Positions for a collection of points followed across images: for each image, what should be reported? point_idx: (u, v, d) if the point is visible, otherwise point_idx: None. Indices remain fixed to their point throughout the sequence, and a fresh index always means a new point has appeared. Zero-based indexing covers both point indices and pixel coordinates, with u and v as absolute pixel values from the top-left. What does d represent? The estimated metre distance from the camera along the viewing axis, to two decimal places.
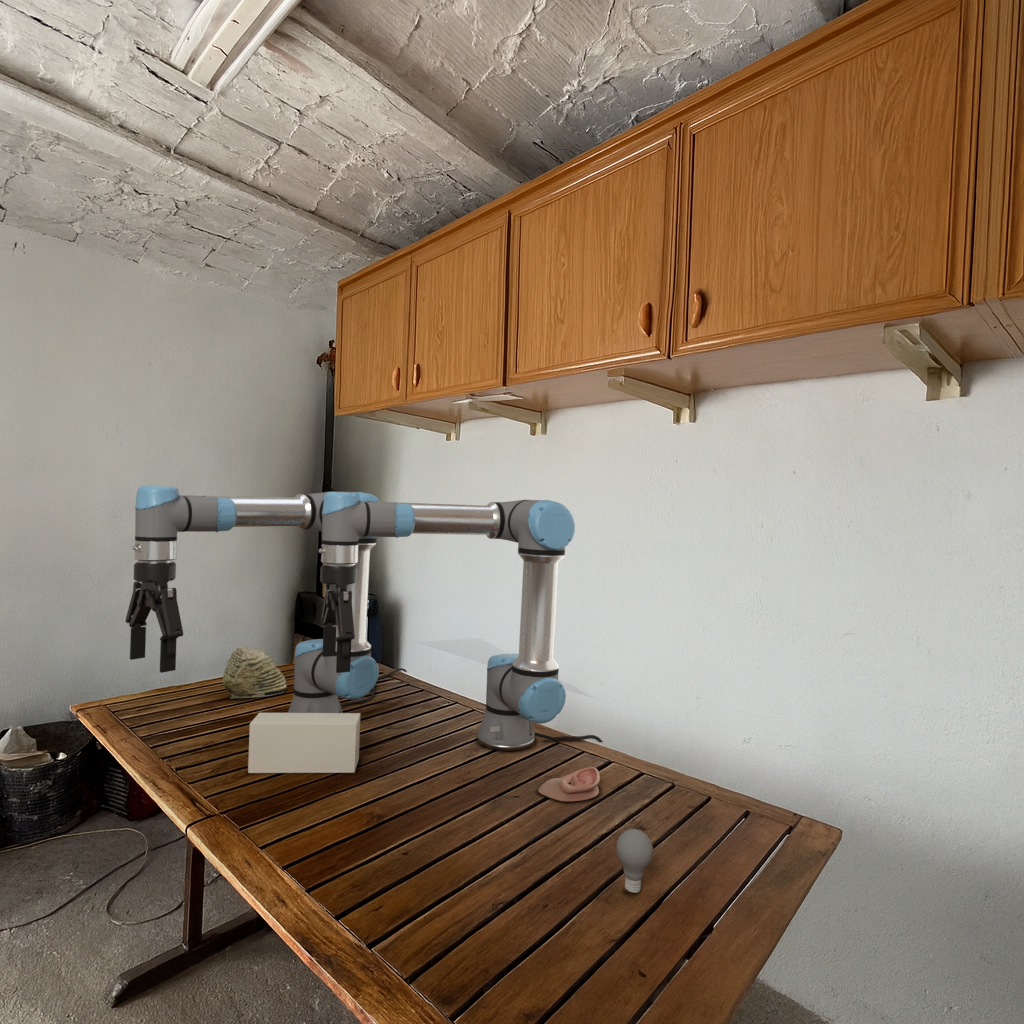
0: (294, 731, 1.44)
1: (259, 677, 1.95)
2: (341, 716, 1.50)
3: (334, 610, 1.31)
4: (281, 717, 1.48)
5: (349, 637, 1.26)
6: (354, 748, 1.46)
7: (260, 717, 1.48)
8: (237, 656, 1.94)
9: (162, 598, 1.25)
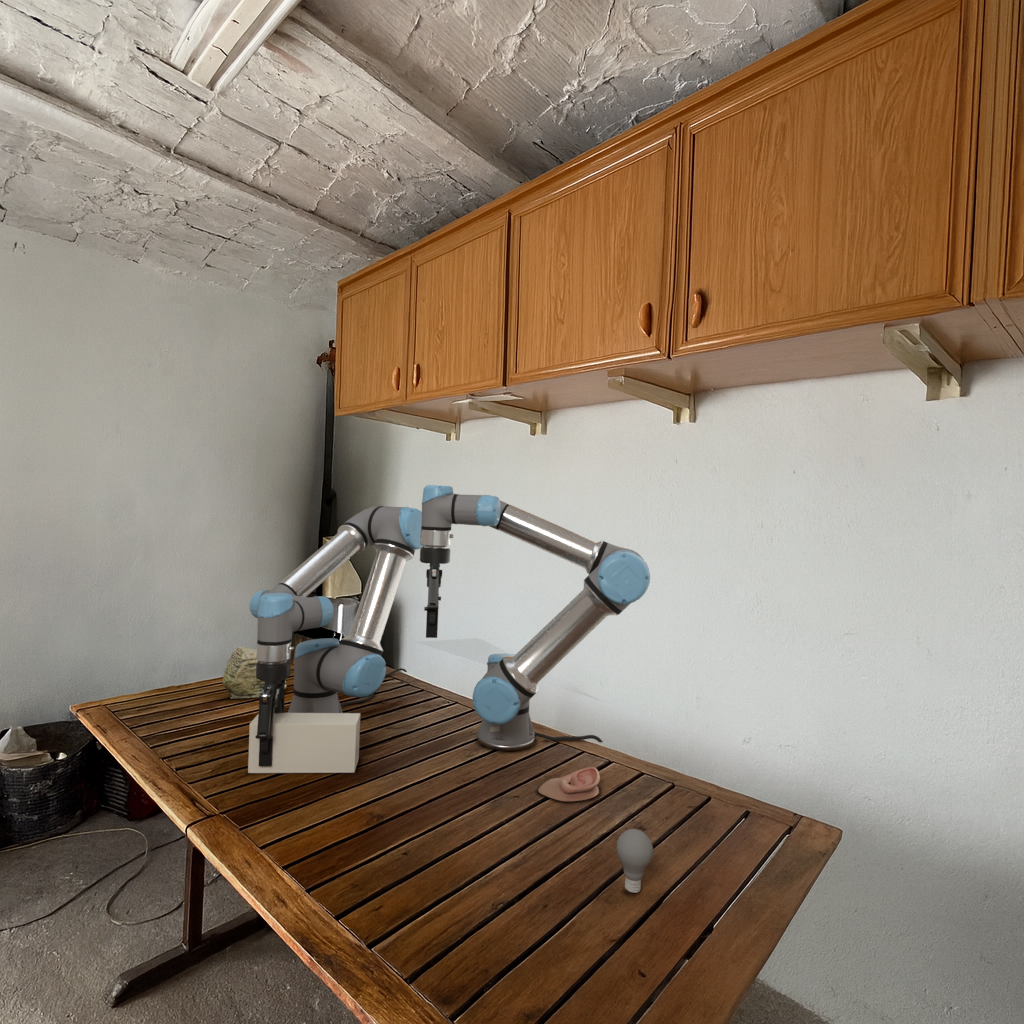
0: (294, 731, 1.44)
1: None
2: (341, 716, 1.50)
3: None
4: (281, 717, 1.48)
5: None
6: (354, 748, 1.46)
7: None
8: (237, 656, 1.94)
9: (284, 685, 1.53)
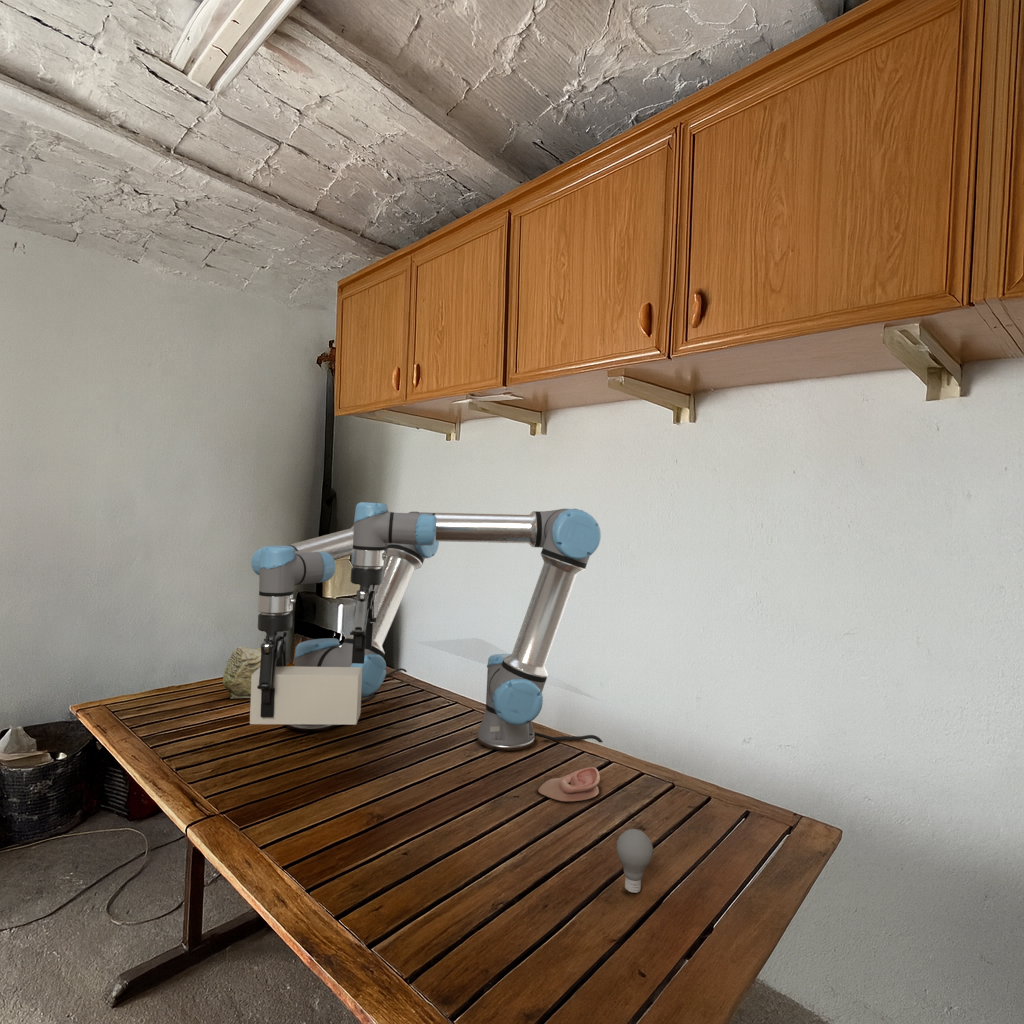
0: (296, 682, 1.44)
1: None
2: (343, 669, 1.50)
3: None
4: (283, 670, 1.48)
5: None
6: (356, 700, 1.46)
7: None
8: (237, 656, 1.94)
9: (285, 639, 1.53)
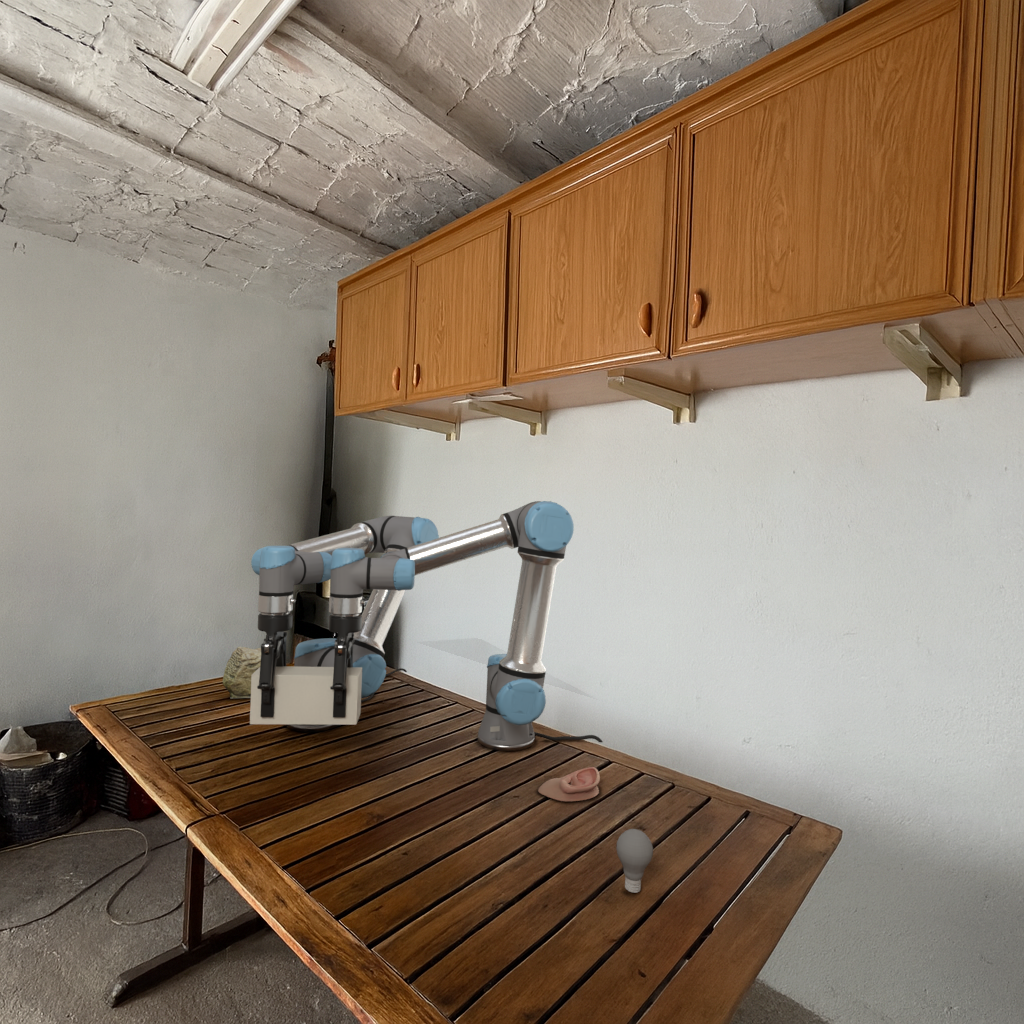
0: (296, 682, 1.44)
1: None
2: None
3: None
4: (283, 670, 1.48)
5: None
6: (356, 700, 1.46)
7: None
8: (237, 656, 1.94)
9: (285, 639, 1.53)
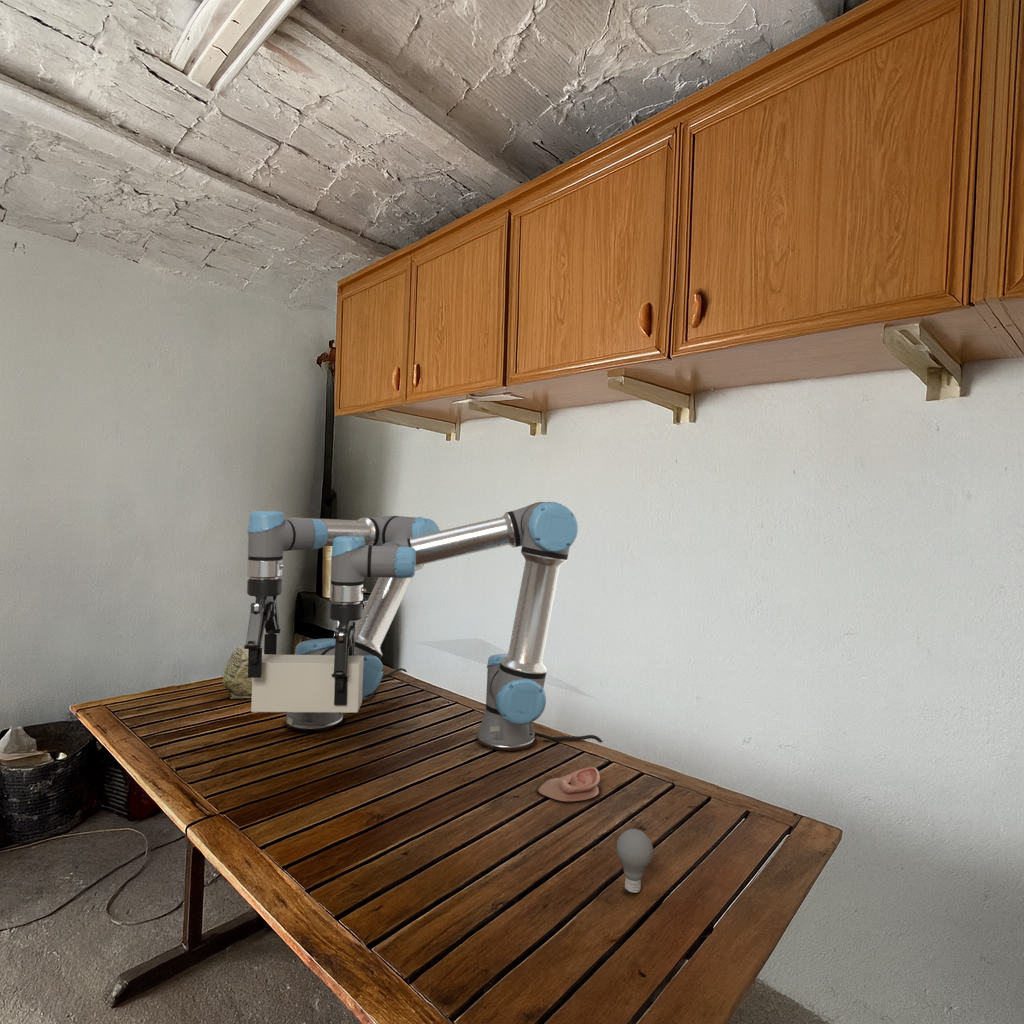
0: (297, 670, 1.44)
1: None
2: None
3: None
4: (284, 658, 1.48)
5: None
6: (357, 688, 1.46)
7: (263, 657, 1.47)
8: (237, 656, 1.94)
9: (276, 601, 1.53)
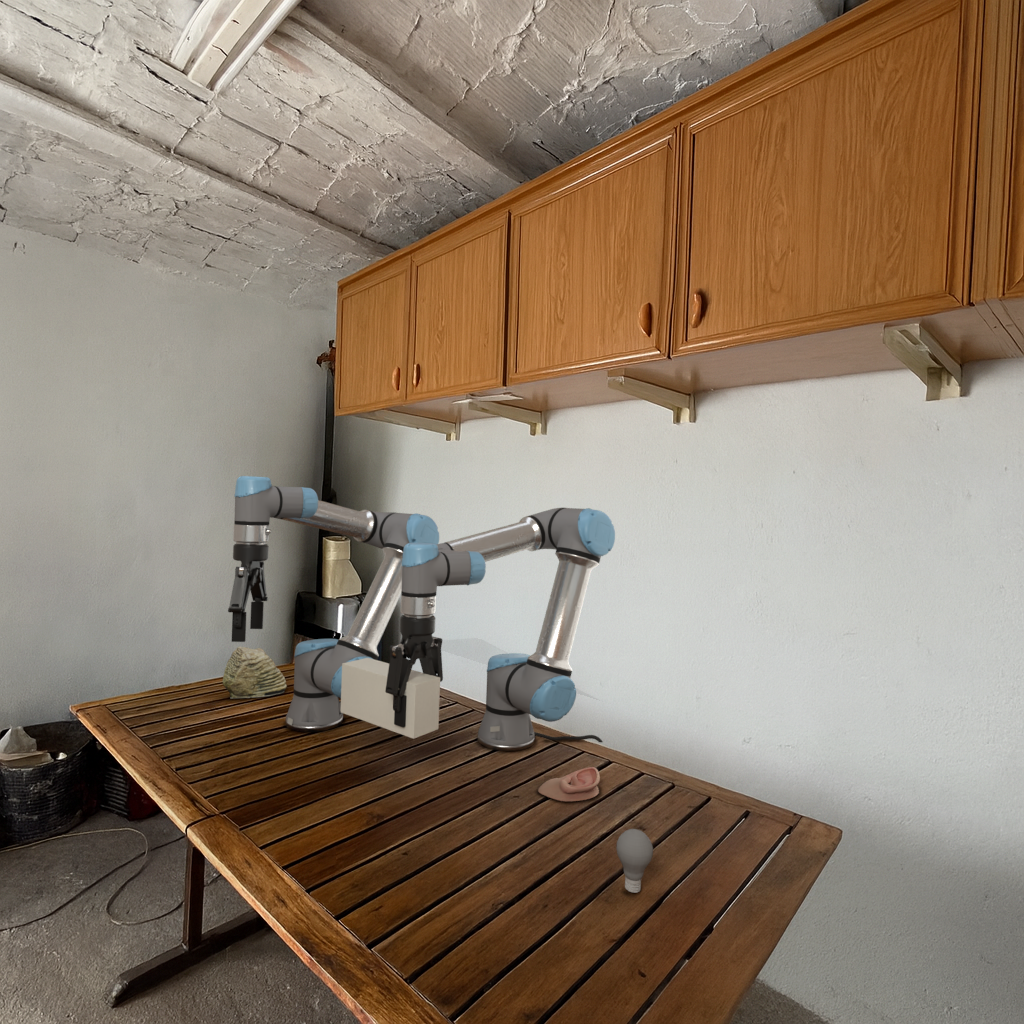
0: (370, 679, 1.39)
1: (259, 677, 1.95)
2: (418, 676, 1.37)
3: (430, 658, 1.37)
4: (373, 664, 1.45)
5: None
6: (414, 711, 1.31)
7: (360, 660, 1.48)
8: (237, 656, 1.94)
9: (263, 569, 1.52)
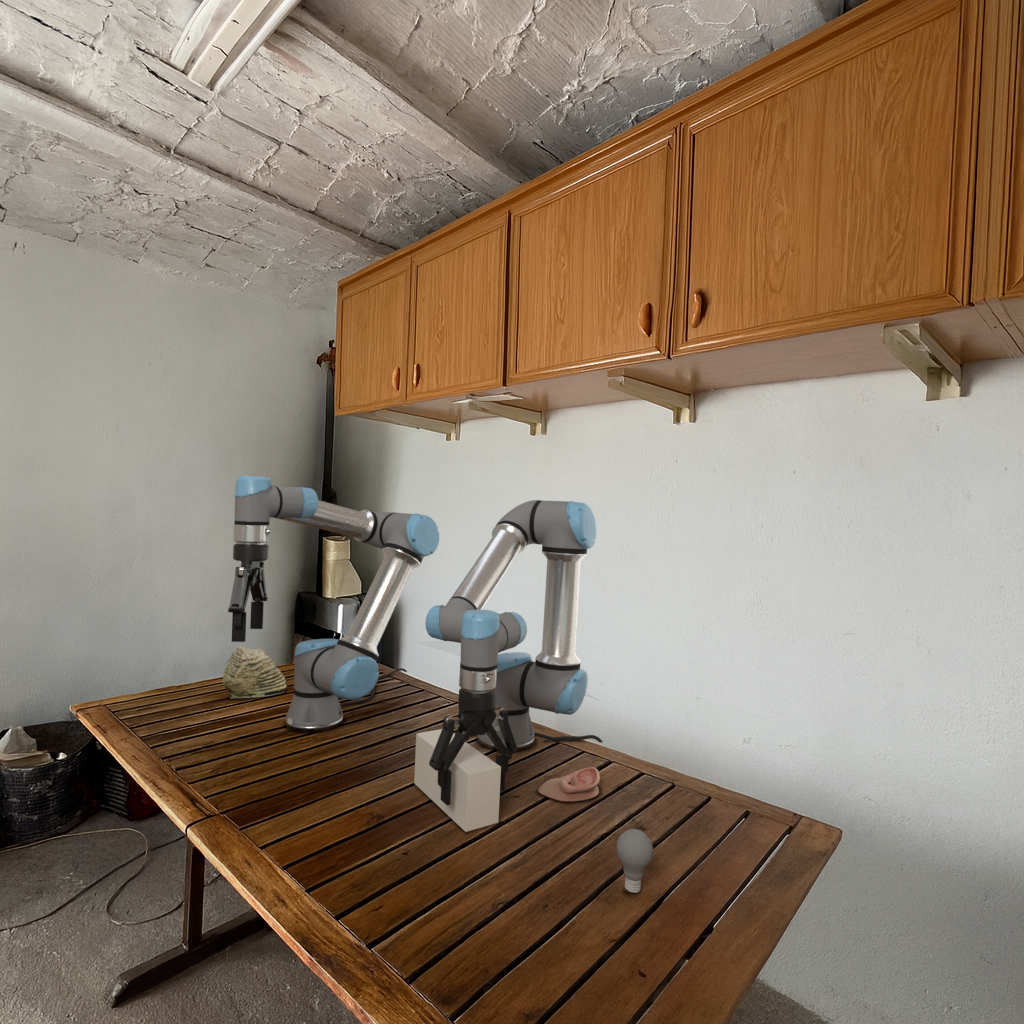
0: None
1: (259, 677, 1.95)
2: (479, 761, 1.28)
3: (494, 733, 1.28)
4: None
5: None
6: (466, 802, 1.22)
7: (435, 731, 1.43)
8: (237, 656, 1.94)
9: (263, 569, 1.52)
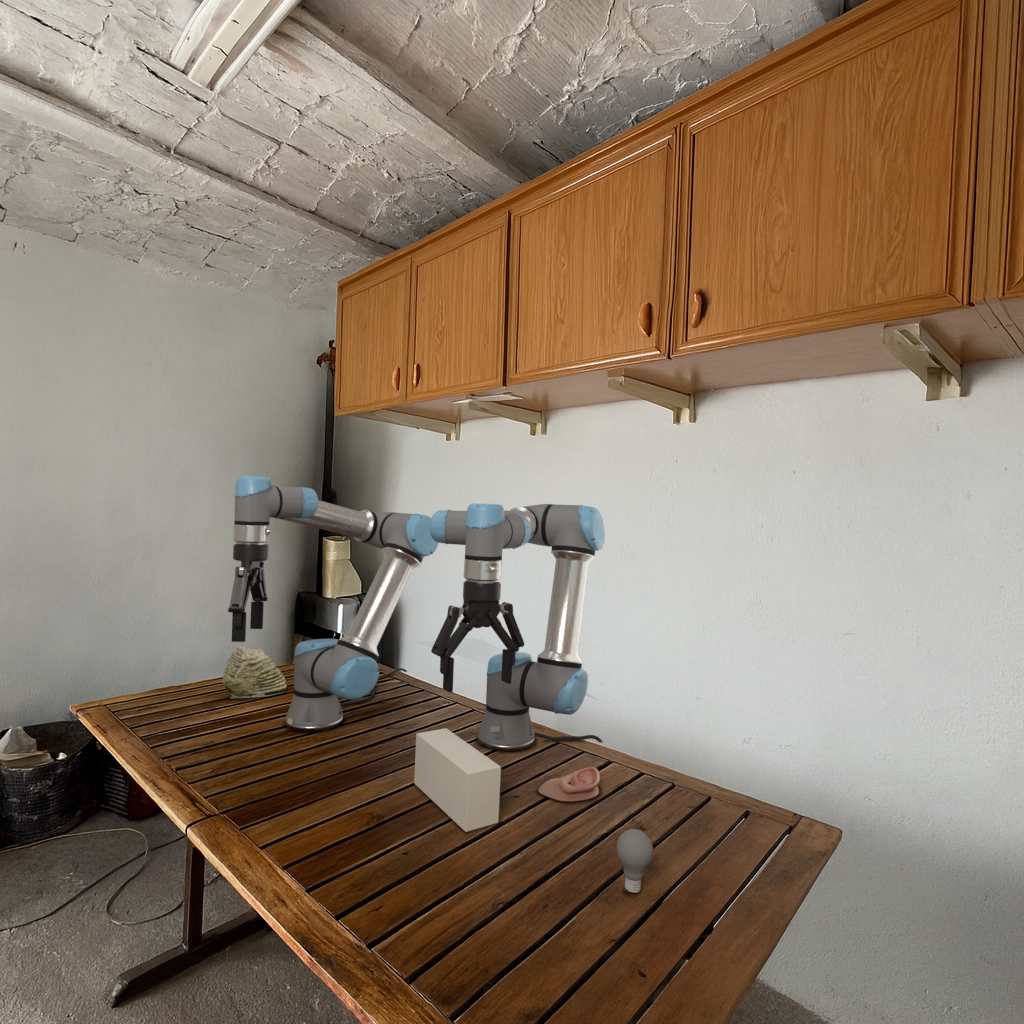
0: (435, 757, 1.33)
1: (259, 677, 1.95)
2: (479, 761, 1.28)
3: (500, 626, 1.28)
4: (445, 739, 1.39)
5: None
6: (466, 802, 1.22)
7: (435, 731, 1.43)
8: (237, 656, 1.94)
9: (263, 569, 1.52)
